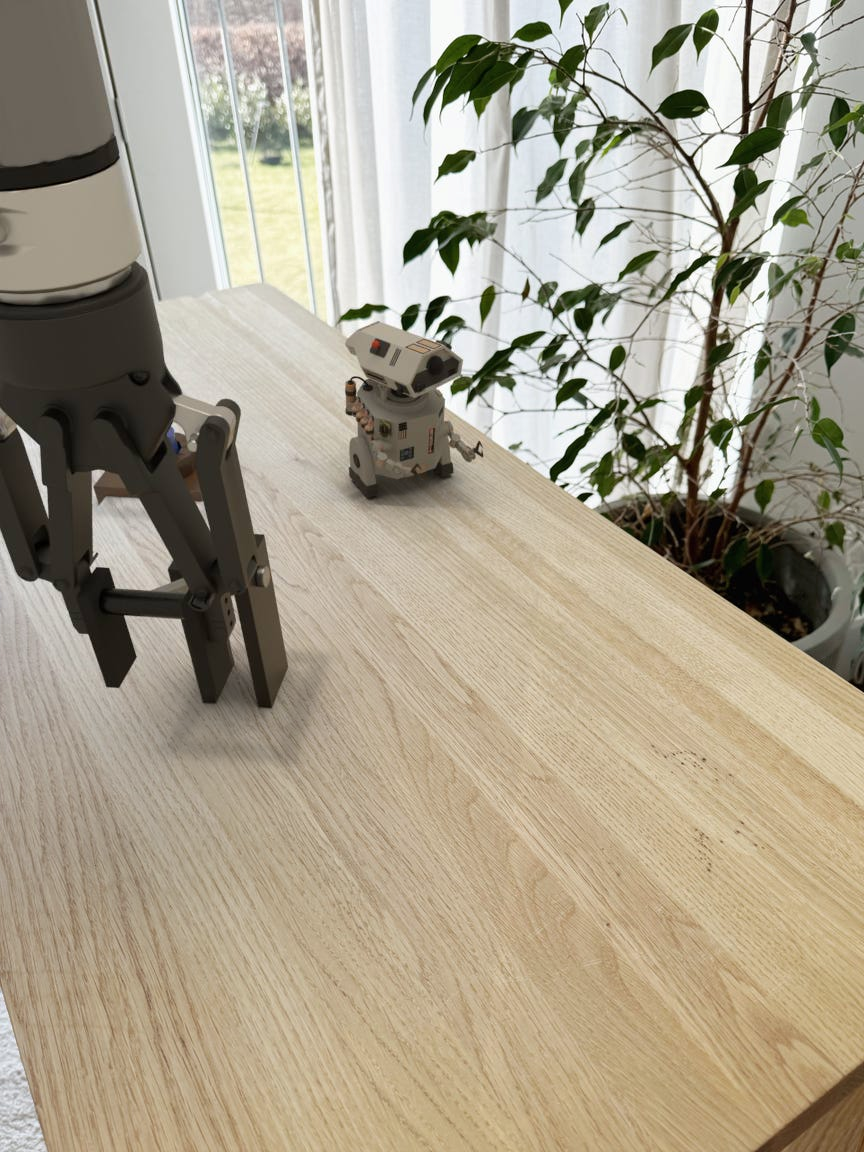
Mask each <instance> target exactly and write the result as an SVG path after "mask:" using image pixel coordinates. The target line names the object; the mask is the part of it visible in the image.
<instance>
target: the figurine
mask: <svg viewBox="0 0 864 1152" xmlns="http://www.w3.org/2000/svg"><path fill="white" fill-rule="evenodd" d="M344 345H345V347H346V348H347V349H348V351H349V353H350V354H351V355H353V356H356V359H357V361H358V364H359V367H360V369H361V370H362V372H363V374H364V376H365V377H366V379H364V378H363V377H361V376H359V375H358V376H357V375H356V376H355V375H354V376H351V378H350V379H348V380H346V381H345V383H344V384H345V388H344V394H345V414H346V415H347V416H350V417H354V418H355V421H356V423H357V436H354V437H351V438H350V441H349V446H348V447H349V449H348V450H349V452H348V455H349V467H348V476H349V478H350V479H351V480H352V482H353V484H355V485H356V487H357V488H359V490H360V491H361V493H362V495H365V498H366V499H369V498H372V497H377V496H378V495H380V494H381V492H380V487H379V483H378V482H377V477H376V475H379V476H382V477H386V478H390V479H394V480H399V479H402V478H408V477H412V476H415V477H416V478H417V479H418V480H419V481H420V480H421V479H422V478H423V477H424V476H426V475H425V473H426V472H428V471H431V470H435V472H436V473H437V474H439V476H440V478H444V477H448V476H452V474H455V472H454V471H455V470H454V463H453V462H452V459H451V448H452V449H456V450H457V451H458V452H459V454H460V455H461V457H462V458H463V460H464V461H466V463H472V462H473V461H474V460H475V459H476V457H477V456H476V455H478V456H479V457H480V458H482V459H483V458H484V452H483V450H481V451H480V449H479V448H480V447H481V449H484V446H483V444H482V442H481V441H480V440H478V441H477V444H476V445H475V447H471V446H469V445H467V444H466V443H465V442H464V441H462V440H461V439H462V438H461V435H460V434H459V433H455V431H454V426H453V424H452V422H451V421H450V420H445V410H446V399H445V397H444V394H443V393H442V392H441V391H440V389H438V388H440V387H442V386H444V385H446V384H448V383H449V382H452V381H453V380H455V379H457V378H459V377H461V376H462V370H463V365H464V359H463V358H462V357H460V356H459V355H458V354H457V353H455V352H454V351H453V350H452V348H453V346H452V345H451V344H450V343H449V342H447V341H444V340H439V339H436V340H435V341H434V340H431V339H429V338H426V337H423V336H420V335H417V334H415V333H412V332H409V331H407V330H404V329H401V328H399V327H396V326H394V325H391V324H387V323H385V322H383V321H379V320H376V321H375V322H372V323H370V324H367V325H365V326H363V327H360V328H358V329H356V330H355V331H354V332H353V333H352V334H351V335H350V336H349V337H348V338H347V339H346V340H345V343H344ZM354 379H358V380H360V381H362V384H361V385H360V387H359V389H357V382H356V381H355V380H354ZM449 439H450V440H449ZM472 460H473V461H472ZM422 473H424V474H422ZM420 474H422V475H420Z"/></svg>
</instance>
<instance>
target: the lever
mask: <svg viewBox="0 0 864 1152" xmlns="http://www.w3.org/2000/svg"><path fill="white" fill-rule="evenodd" d="M188 589H189V588H188V586H187V584H186V582H185V580H184V579H183V578H182V579H179V580H177V581H174V582H171V581H170V582H168V583H167V584H164V585H160V586H159V587H156V588H153V589H150V590H146V589H129V588H117V587H115V588H105V589H103V591H102V592H101V595H100V601H99V603H100V609H101V611H102V612H103V613H104V614H110V615H124V617H127V616H129V617H141V618H143V617H144V618H154V619H155V618H157V619H170V620H171V619H172V620H181V619H184V616H183V612H182V608H181V602H182V600H183V598H184V597H185V595H186V593H187V591H188ZM230 594H231V597H233V596H234V594H232V593H230Z"/></svg>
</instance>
